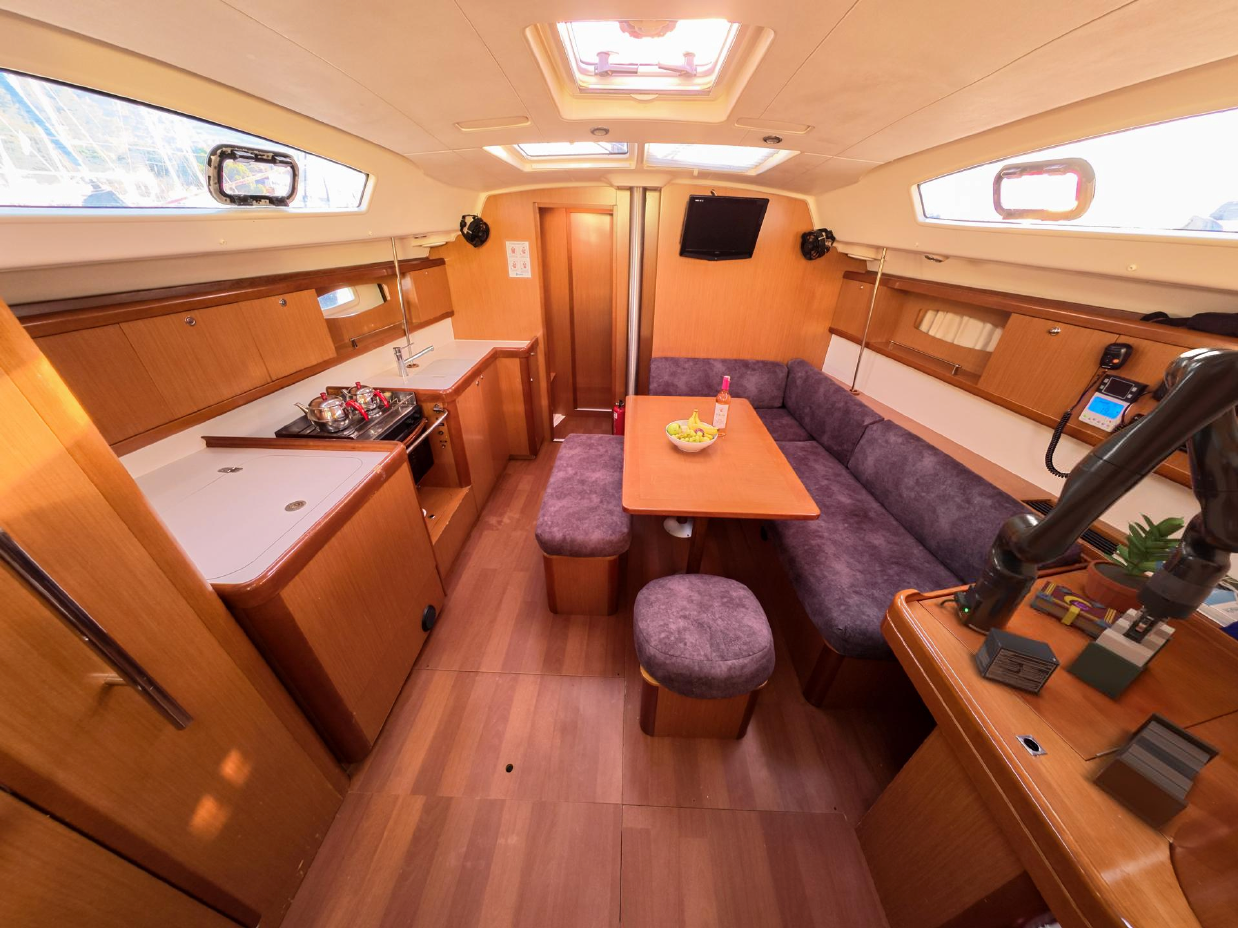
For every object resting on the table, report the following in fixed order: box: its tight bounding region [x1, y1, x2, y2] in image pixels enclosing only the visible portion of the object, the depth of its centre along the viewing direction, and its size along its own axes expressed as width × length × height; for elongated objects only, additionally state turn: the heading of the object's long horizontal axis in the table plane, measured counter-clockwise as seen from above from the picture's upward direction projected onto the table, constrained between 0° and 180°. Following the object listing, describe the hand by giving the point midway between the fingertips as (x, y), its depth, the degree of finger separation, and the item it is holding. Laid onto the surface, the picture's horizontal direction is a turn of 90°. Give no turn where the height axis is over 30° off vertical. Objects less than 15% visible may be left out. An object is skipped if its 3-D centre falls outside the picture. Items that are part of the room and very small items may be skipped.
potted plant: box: [1084, 513, 1186, 614], centre depth 111 cm, size 15×15×30 cm
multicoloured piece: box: [1066, 608, 1176, 700], centre depth 94 cm, size 20×8×13 cm, turn 116°
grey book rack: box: [1092, 711, 1222, 831], centre depth 74 cm, size 20×8×8 cm, turn 116°
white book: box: [1111, 618, 1166, 667], centre depth 93 cm, size 3×7×12 cm, turn 26°
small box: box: [973, 628, 1061, 696], centre depth 92 cm, size 11×6×10 cm, turn 65°
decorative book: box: [1029, 580, 1122, 640], centre depth 110 cm, size 11×16×5 cm
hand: (1126, 645), depth 93 cm, fingers open, 4 cm apart
